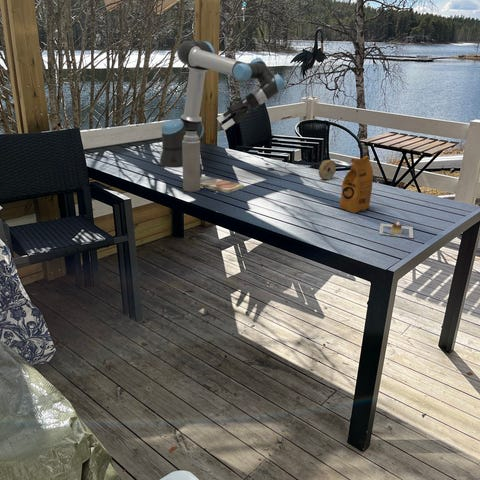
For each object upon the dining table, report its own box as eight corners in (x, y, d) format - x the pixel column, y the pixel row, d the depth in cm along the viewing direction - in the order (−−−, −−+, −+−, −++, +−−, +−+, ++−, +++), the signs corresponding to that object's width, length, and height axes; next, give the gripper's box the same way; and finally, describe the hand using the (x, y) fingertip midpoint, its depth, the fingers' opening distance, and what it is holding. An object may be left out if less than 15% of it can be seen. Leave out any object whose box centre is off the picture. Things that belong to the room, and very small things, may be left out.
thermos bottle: (188, 185, 235) (187, 126, 224) (203, 188, 232) (203, 128, 221) (179, 190, 228) (178, 128, 218) (194, 192, 225) (194, 130, 215)
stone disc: (330, 176, 258) (332, 157, 254) (335, 178, 255) (337, 159, 252) (316, 179, 252) (318, 160, 248) (321, 181, 249) (323, 161, 246)
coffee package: (335, 208, 210) (341, 156, 201) (353, 202, 217) (359, 153, 209) (354, 214, 203) (360, 161, 194) (372, 208, 210) (379, 157, 202)
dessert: (380, 225, 192) (381, 214, 190) (412, 229, 189) (414, 217, 187) (378, 236, 182) (380, 224, 180) (413, 240, 178) (415, 228, 177)
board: (188, 183, 238) (188, 180, 238) (204, 178, 248) (204, 175, 247) (228, 193, 226) (228, 189, 225) (243, 187, 235) (243, 183, 234)
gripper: (258, 96, 228) (220, 123, 230) (262, 112, 253) (228, 137, 254) (248, 83, 229) (211, 110, 231) (254, 101, 254) (220, 125, 255)
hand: (220, 124), depth 242 cm, fingers open, 13 cm apart
